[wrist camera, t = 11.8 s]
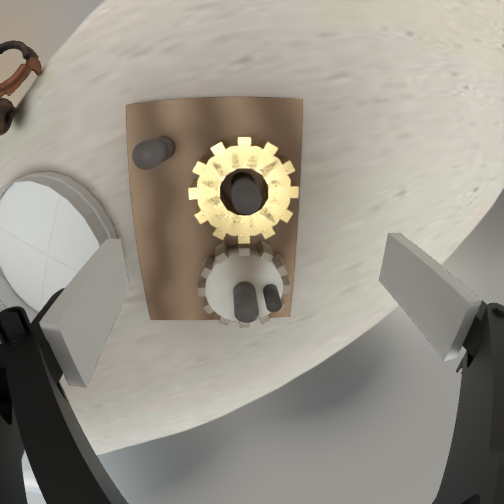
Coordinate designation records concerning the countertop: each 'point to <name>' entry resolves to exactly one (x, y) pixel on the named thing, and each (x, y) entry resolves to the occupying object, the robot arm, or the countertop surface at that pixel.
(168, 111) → the gear board
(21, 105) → the countertop surface
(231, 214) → the brass gear
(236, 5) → the countertop surface
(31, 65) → the brown curved piece
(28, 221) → the dish
